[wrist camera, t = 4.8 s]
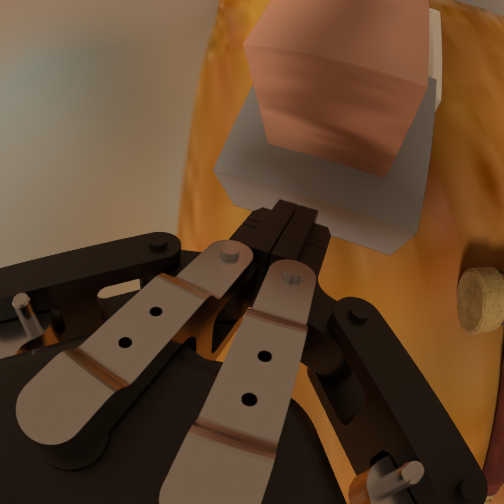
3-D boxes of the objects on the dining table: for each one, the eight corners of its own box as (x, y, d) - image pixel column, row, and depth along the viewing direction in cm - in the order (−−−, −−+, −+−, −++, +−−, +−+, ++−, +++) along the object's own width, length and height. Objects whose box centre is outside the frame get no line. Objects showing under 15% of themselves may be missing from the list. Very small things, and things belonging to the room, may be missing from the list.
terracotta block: (401, 90, 18) (428, -1, 10) (384, 178, 17) (427, 87, 9) (301, 64, 19) (292, -31, 12) (267, 144, 18) (243, 44, 11)
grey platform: (416, 123, 23) (436, 79, 18) (390, 255, 22) (416, 233, 16) (283, 86, 26) (277, 37, 20) (234, 205, 24) (213, 170, 18)
